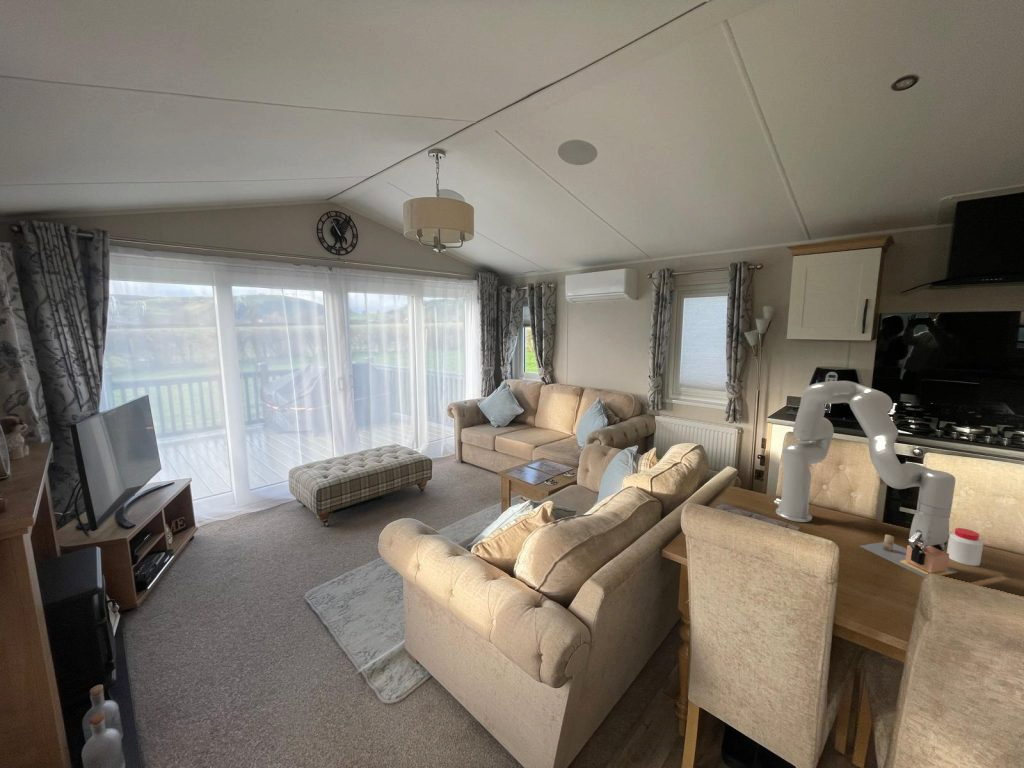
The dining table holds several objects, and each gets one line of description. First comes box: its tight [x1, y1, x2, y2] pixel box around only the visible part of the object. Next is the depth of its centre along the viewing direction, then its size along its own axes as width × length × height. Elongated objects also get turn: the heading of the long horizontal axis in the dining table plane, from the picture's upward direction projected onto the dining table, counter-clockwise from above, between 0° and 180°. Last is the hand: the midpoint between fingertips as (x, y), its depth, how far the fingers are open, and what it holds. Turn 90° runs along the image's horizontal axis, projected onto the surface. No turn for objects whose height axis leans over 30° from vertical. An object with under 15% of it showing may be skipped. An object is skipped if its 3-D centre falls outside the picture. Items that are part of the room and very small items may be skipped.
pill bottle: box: [946, 527, 984, 567], centre depth 138 cm, size 8×8×11 cm
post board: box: [859, 534, 958, 578], centre depth 139 cm, size 20×14×6 cm
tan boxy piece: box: [905, 544, 950, 573], centre depth 134 cm, size 7×7×6 cm
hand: (926, 560), depth 134 cm, fingers open, 7 cm apart
